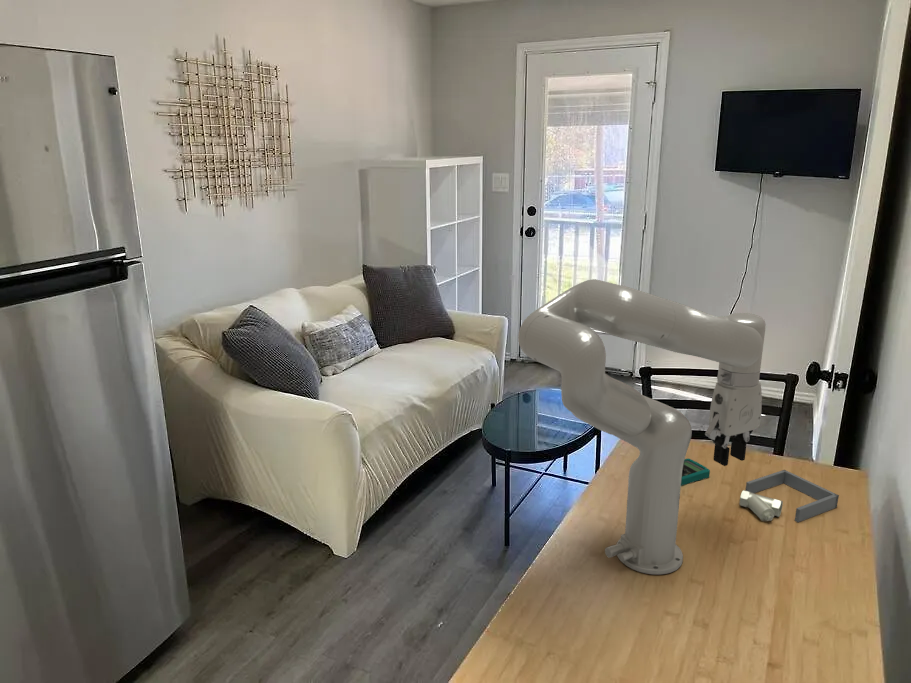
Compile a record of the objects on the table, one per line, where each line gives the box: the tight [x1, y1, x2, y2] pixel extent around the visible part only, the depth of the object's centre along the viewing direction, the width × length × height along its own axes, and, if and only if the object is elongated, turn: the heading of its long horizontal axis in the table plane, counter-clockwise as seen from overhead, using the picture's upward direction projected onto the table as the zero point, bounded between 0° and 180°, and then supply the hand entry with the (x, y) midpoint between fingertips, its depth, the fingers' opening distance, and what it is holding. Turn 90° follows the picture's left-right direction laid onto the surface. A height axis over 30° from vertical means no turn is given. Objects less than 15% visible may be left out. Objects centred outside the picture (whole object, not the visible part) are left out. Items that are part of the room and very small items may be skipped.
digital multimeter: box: [681, 457, 711, 487], centre depth 159 cm, size 7×15×3 cm, turn 117°
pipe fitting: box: [739, 489, 784, 522], centre depth 143 cm, size 8×4×7 cm
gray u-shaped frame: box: [745, 469, 840, 523], centre depth 148 cm, size 13×14×3 cm
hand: (728, 459), depth 135 cm, fingers open, 4 cm apart
